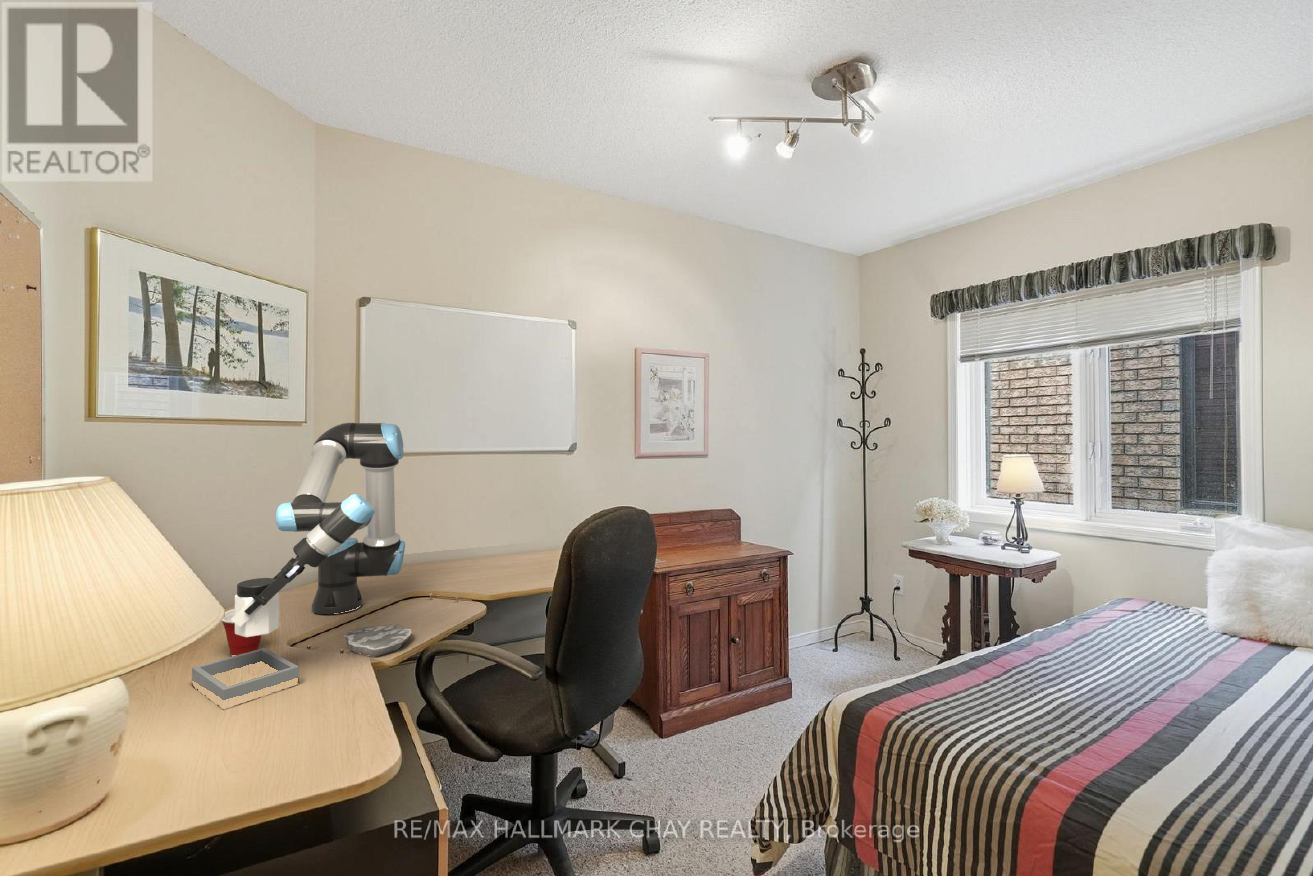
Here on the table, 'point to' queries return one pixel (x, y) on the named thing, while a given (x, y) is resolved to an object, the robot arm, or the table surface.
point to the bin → (206, 671)
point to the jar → (265, 616)
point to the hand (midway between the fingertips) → (240, 616)
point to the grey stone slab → (377, 639)
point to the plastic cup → (238, 637)
